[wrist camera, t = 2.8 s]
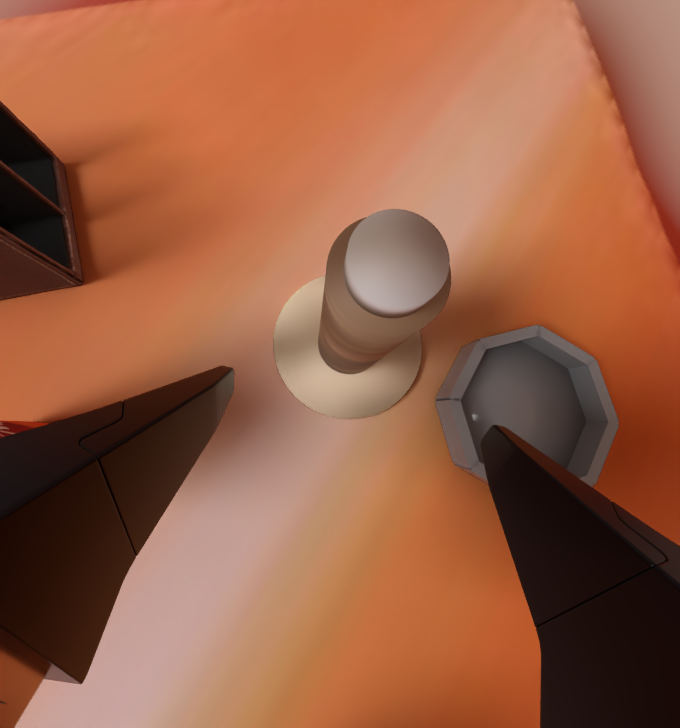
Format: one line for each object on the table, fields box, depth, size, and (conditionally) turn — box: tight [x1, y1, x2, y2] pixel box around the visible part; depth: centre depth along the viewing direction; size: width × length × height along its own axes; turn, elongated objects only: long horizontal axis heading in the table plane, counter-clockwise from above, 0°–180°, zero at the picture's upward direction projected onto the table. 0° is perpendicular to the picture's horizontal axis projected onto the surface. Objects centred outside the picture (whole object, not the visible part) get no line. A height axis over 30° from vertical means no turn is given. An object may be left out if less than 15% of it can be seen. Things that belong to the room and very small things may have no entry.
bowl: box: [435, 325, 619, 487], centre depth 23 cm, size 12×12×2 cm
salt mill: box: [318, 209, 451, 374], centre depth 17 cm, size 5×5×13 cm
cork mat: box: [273, 275, 422, 419], centre depth 24 cm, size 11×11×1 cm
